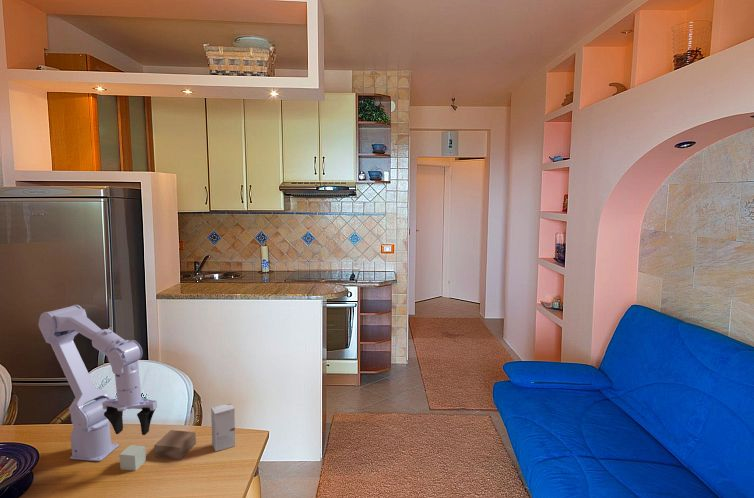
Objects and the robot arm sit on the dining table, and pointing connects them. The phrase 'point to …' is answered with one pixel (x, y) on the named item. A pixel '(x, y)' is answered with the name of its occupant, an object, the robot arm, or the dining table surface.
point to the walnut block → (175, 444)
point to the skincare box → (223, 426)
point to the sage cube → (132, 457)
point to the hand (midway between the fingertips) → (132, 432)
